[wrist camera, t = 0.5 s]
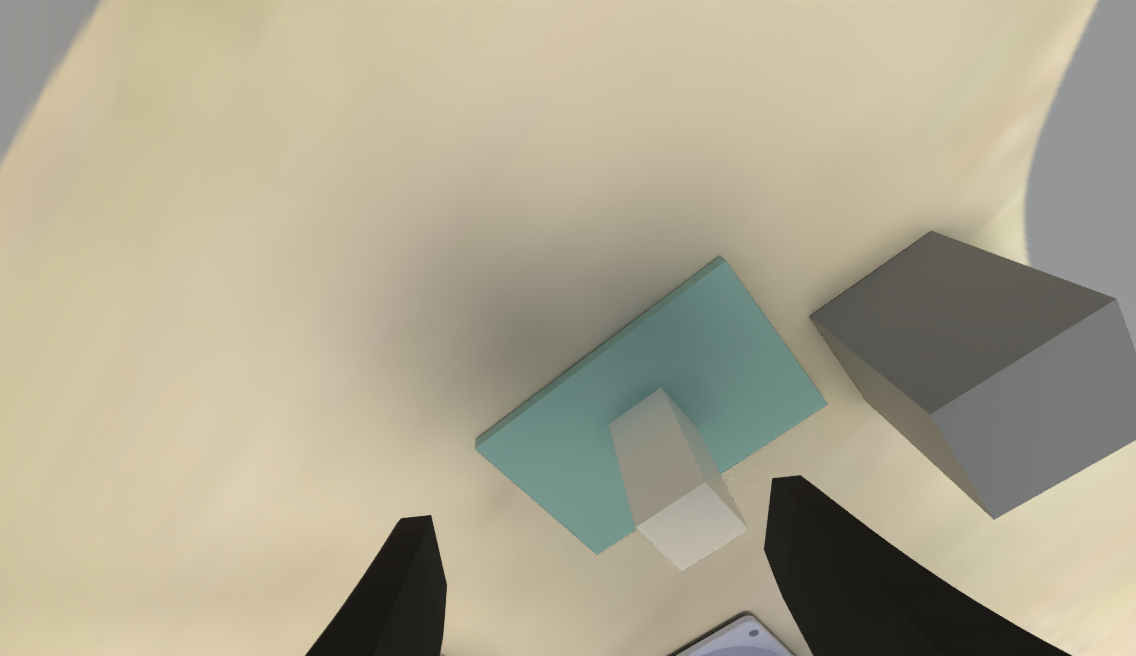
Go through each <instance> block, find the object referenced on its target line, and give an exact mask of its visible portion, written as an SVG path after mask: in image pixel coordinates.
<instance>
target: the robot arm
mask: <svg viewBox="0 0 1136 656" xmlns="http://www.w3.org/2000/svg"><path fill="white" fill-rule="evenodd" d="M764 551H765V554H766V556H767V559H768V561H769V564H770V567H771V569H772V572H773V575H774V577H775V580H776V582H777V585H778V587H779V589H780V592H781V594H782V597H783V599H784V601H785V603H786V605H787V607H788V609H789V610H790V612H791V614H792V616H793V618H794V620H795V622H796V624H797V626H798V628H799V629H800V631H801V633H802V635H803V637H804V639H805V641H806V643H807V644H808V646H809V648H810V650H811V652H812V654H813V656H1072V655H1070V654H1068V653H1066V652H1064V651H1062V650H1060V649H1058V648H1057V647H1055V646H1053V645H1051V644H1049V643H1047V642H1045V641H1043V640H1042V639H1040V638H1038V637H1036V636H1034V635H1033V634H1031V633H1029V632H1027V631H1025V630H1024V629H1022V628H1020V627H1018V626H1017V625H1015V624H1013V623H1012V622H1010V621H1008V620H1007V619H1005V618H1003V617H1002V616H1000V615H998V614H997V613H995V612H993V611H991V610H990V609H988V608H986V607H985V606H983V605H981V604H980V603H978V602H976V601H975V600H973V599H972V598H970V597H968V596H967V595H965V594H964V593H962V592H960V591H959V590H957V589H956V588H954V587H953V586H951V585H950V584H948V583H947V582H945V581H944V580H942V579H941V578H939V577H938V576H936V575H935V574H933V573H932V572H930V571H929V570H927V569H926V568H924V567H923V566H921V565H920V564H918V563H917V562H916V561H914V560H913V559H911V558H910V557H908V556H907V555H906V554H904V553H903V552H901V551H900V550H899V549H897V548H896V547H894V546H893V545H892V544H890V543H889V542H887V541H886V540H885V539H883V538H882V537H881V536H879V535H878V534H877V533H875V532H874V531H873V530H871V529H870V528H869V527H867V526H866V525H865V524H863V523H862V522H861V521H859V520H858V519H857V518H855V517H854V516H853V515H852V514H850V513H849V512H848V511H846V510H845V509H844V508H842V507H841V506H840V505H839V504H837V503H836V502H835V501H833V500H832V499H831V498H830V497H828V496H827V495H826V494H824V493H823V492H822V491H820V490H819V489H818V488H817V487H815V486H814V485H813V484H811V483H810V482H809V481H807V480H806V479H805V478H803V477H802V476H801V475H799V476H790V477H781V478H772V485H771V494H770V503H769V511H768V520H767V528H766V537H765V546H764ZM446 593H447V583H446V579H445V574H444V570H443V566H442V561H441V557H440V552H439V548H438V543H437V539H436V535H435V530H434V526H433V521H432V517H431V515H427V516H418V517H408V518H401V519H400V520H399V522H398V523H397V524H396V526H395V527H394V529H393V530H392V532H391V534H390V535H389V537H388V538H387V540H386V542H385V543H384V545H383V546H382V548H381V549H380V551H379V553H378V554H377V556H376V557H375V559H374V560H373V562H372V563H371V565H370V566H369V568H368V569H367V571H366V572H365V574H364V575H363V577H362V578H361V580H360V581H359V583H358V584H357V586H356V587H355V588H354V590H353V591H352V593H351V594H350V596H349V597H348V599H347V600H346V601H345V603H344V604H343V606H342V607H341V609H340V610H339V611H338V613H337V614H336V616H335V617H334V618H333V620H332V621H331V622H330V624H329V625H328V626H327V627H326V629H325V630H324V631H323V633H322V634H321V635H320V637H319V638H318V639H317V641H316V642H315V643H314V645H313V646H312V647H311V648H310V650H309V651H308V652H307V654H306V655H305V656H440V651H441V645H442V640H443V631H444V619H445V607H446ZM676 656H794V655H793V654H792V653H791V652H790V651H789V650H787V649H786V648H785V647H784V646H783V645H782V644H781V643H780V642H779V641H778V640H777V639H776V638H775V637H774V636H773V635H772V634H771V633H770V632H769V631H768V630H767V629H766V628H765V627H764V626H763V625H762V624H761V623H760V622H759V621H758V620H757V619H756V618H755V617H753V616H749V615H747V616H743V617H741V618H739V619H738V620H736V621H734V622H733V623H731V624H729V625H727V626H726V627H724V628H722V629H720V630H719V631H717V632H715V633H714V634H712V635H710V636H708V637H707V638H705V639H703V640H702V641H700V642H698V643H696V644H695V645H693V646H691V647H690V648H688V649H686V650H684V651H683V652H681V653H679V654H678V655H676Z"/></svg>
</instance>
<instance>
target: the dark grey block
mask: <svg viewBox="0 0 1136 656" xmlns="http://www.w3.org/2000/svg"><path fill="white" fill-rule="evenodd" d="M810 318H811V319H812V321H813V322H814V324H815V325H816V327H817V328H818V330H819V331H820V333H821V334H822V336H823V337H824V339H825V340H826V342H827V343H828V345H829V346H830V348H831V349H832V351H833V352H834V354H835V355H836V357H837V358H838V360H839V361H840V363H841V364H842V366H843V367H844V369H845V370H846V372H847V373H848V375H849V376H850V378H851V379H852V381H853V382H854V384H855V385H856V387H857V388H858V390H859V391H860V393H861V394H862V396H863V397H864V399H865V400H866V402H868V403H869V404H870V405H871V406H872V407H873V408H874V409H875V410H876V411H877V412H878V413H879V414H880V415H882V416H883V417H884V418H885V419H886V420H887V421H888V422H889V423H890V424H891V425H892V426H893V427H894V428H896V429H897V430H898V431H899V432H900V433H901V434H902V435H903V436H904V437H905V438H906V439H907V440H909V441H910V442H911V443H912V444H913V445H914V446H915V447H916V448H917V449H918V450H919V451H920V452H921V453H923V454H924V455H925V456H926V457H927V458H928V459H929V460H930V461H931V462H932V463H933V464H934V465H935V466H937V467H938V468H939V469H940V470H941V471H942V472H943V473H944V474H945V475H946V476H947V477H948V478H949V479H951V480H952V481H953V482H954V483H955V484H956V485H957V486H958V487H959V488H960V489H961V490H962V491H964V492H965V493H966V494H967V495H968V496H969V497H970V498H971V499H972V500H973V501H974V502H975V503H976V504H978V505H979V506H980V507H981V508H982V509H983V510H984V511H985V512H986V513H987V514H988V515H989V516H990V517H992V518H993V519H996V518H998V517H1000V516H1001V515H1003V514H1005V513H1007V512H1009V511H1010V510H1012V509H1014V508H1016V507H1017V506H1019V505H1021V504H1023V503H1025V502H1026V501H1028V500H1030V499H1032V498H1033V497H1035V496H1037V495H1039V494H1041V493H1042V492H1044V491H1046V490H1048V489H1049V488H1051V487H1053V486H1055V485H1057V484H1058V483H1060V482H1062V481H1064V480H1066V479H1067V478H1069V477H1071V476H1073V475H1074V474H1076V473H1078V472H1080V471H1082V470H1083V469H1085V468H1087V467H1089V466H1090V465H1092V464H1094V463H1096V462H1098V461H1099V460H1101V459H1103V458H1105V457H1106V456H1108V455H1110V454H1112V453H1114V452H1115V451H1117V450H1119V449H1121V448H1122V447H1124V446H1126V445H1128V444H1130V443H1131V442H1133V441H1135V440H1136V352H1135V349H1134V346H1133V343H1132V340H1131V338H1130V335H1129V332H1128V329H1127V327H1126V324H1125V321H1124V318H1123V315H1122V313H1121V310H1120V307H1119V305H1118V302H1117V299H1116V298H1113V297H1110V296H1107V295H1105V294H1102V293H1099V292H1097V291H1094V290H1091V289H1088V288H1086V287H1083V286H1080V285H1077V284H1075V283H1072V282H1069V281H1067V280H1064V279H1061V278H1058V277H1056V276H1053V275H1050V274H1047V273H1045V272H1042V271H1039V270H1036V269H1034V268H1031V267H1028V266H1026V265H1023V264H1020V263H1017V262H1015V261H1012V260H1009V259H1006V258H1004V257H1001V256H998V255H995V254H993V253H990V252H987V251H985V250H982V249H979V248H976V247H974V246H971V245H968V244H965V243H963V242H960V241H957V240H954V239H952V238H949V237H946V236H944V235H941V234H938V233H935V232H933V231H931V232H930V233H928V234H927V235H926V236H924V237H923V238H921V239H920V240H918V241H917V242H916V243H914V244H913V245H911V246H910V247H908V248H907V249H905V250H904V251H903V252H901V253H900V254H898V255H897V256H895V257H894V258H893V259H891V260H890V261H888V262H887V263H885V264H884V265H883V266H881V267H880V268H878V269H877V270H875V271H874V272H872V273H871V274H870V275H868V276H867V277H865V278H864V279H862V280H861V281H860V282H858V283H857V284H855V285H854V286H852V287H851V288H850V289H848V290H847V291H845V292H844V293H842V294H841V295H839V296H838V297H837V298H835V299H834V300H832V301H831V302H829V303H828V304H827V305H825V306H824V307H822V308H821V309H819V310H818V311H817V312H815V313H814V314H812V315H811V316H810Z"/></svg>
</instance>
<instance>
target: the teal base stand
mask: <svg viewBox="0 0 1136 656" xmlns="http://www.w3.org/2000/svg"><path fill="white" fill-rule="evenodd" d="M826 405H827V402H826V401H825V399H824V398H823V397H822V395H821V394H820V392H819V391H818V390H817V388H816V387H815V385H814V384H813V383H812V381H811V380H810V378H809V377H808V376H807V374H806V373H805V371H804V370H803V369H802V367H801V366H800V364H799V363H798V362H797V360H796V359H795V357H794V356H793V354H792V353H791V352H790V350H789V349H788V347H787V346H786V345H785V343H784V342H783V340H782V339H781V338H780V336H779V335H778V333H777V332H776V331H775V329H774V328H773V326H772V325H771V324H770V322H769V321H768V319H767V318H766V317H765V315H764V314H763V312H762V311H761V310H760V308H759V307H758V305H757V304H756V303H755V301H754V300H753V298H752V297H751V296H750V294H749V293H748V291H747V290H746V289H745V287H744V286H743V284H742V283H741V281H740V280H739V279H738V277H737V276H736V274H735V273H734V272H733V270H732V269H731V267H730V266H729V265H728V263H727V262H726V261H725V260H724V259H723V258H722V257H721V256H719V257H718V258H717V259H715V260H714V261H713V262H711V263H710V264H709V265H707V266H706V267H705V268H703V269H702V270H701V271H699V272H698V273H697V274H695V275H694V276H693V277H691V278H690V279H689V280H687V281H686V282H685V283H683V284H682V285H681V286H679V287H678V288H677V289H675V290H674V291H673V292H671V293H670V294H669V295H667V296H666V297H665V298H663V299H662V300H661V301H659V302H658V303H657V304H655V305H654V306H653V307H651V308H650V309H649V310H647V311H646V312H645V313H643V314H642V315H641V316H640V317H638V318H637V319H636V320H634V321H633V322H632V323H630V324H629V325H628V326H626V327H625V328H624V329H622V330H621V331H620V332H618V333H617V334H616V335H614V336H613V337H612V338H610V339H609V340H608V341H606V342H605V343H604V344H602V345H601V346H600V347H598V348H597V349H596V350H594V351H593V352H592V353H590V354H589V355H588V356H586V357H585V358H584V359H582V360H581V361H580V362H578V363H577V364H576V365H574V366H573V367H572V368H570V369H569V370H568V371H567V372H565V373H564V374H563V375H561V376H560V377H559V378H557V379H556V380H555V381H553V382H552V383H551V384H549V385H548V386H547V387H545V388H544V389H543V390H541V391H540V392H539V393H537V394H536V395H535V396H533V397H532V398H531V399H529V400H528V401H527V402H525V403H524V404H523V405H521V406H520V407H519V408H517V409H516V410H515V411H513V412H512V413H511V414H509V415H508V416H507V417H505V418H504V419H503V420H501V421H500V422H499V423H497V424H496V425H495V426H493V427H492V428H491V429H490V430H488V431H487V432H486V433H484V434H483V435H482V436H480V437H479V438H478V439H476V444H475V449H476V450H477V451H478V452H479V453H480V454H482V455H483V456H484V457H485V458H486V459H487V460H488V461H490V462H491V463H492V464H493V465H494V466H495V467H496V468H498V469H499V470H500V471H501V472H502V473H503V474H504V475H506V476H507V477H508V478H509V479H510V480H511V481H513V482H514V483H515V484H516V485H517V486H518V487H519V488H521V489H522V490H523V491H524V492H525V493H526V494H527V495H529V496H530V497H531V498H532V499H533V500H534V501H536V502H537V503H538V504H539V505H540V506H541V507H542V508H544V509H545V510H546V511H547V512H548V513H549V514H550V515H552V516H553V517H554V518H555V519H556V520H557V521H559V522H560V523H561V524H562V525H563V526H564V527H565V528H567V529H568V530H569V531H570V532H571V533H572V534H573V535H575V536H576V537H577V538H578V539H579V540H580V541H581V542H583V543H584V544H585V545H586V546H587V547H588V548H590V549H591V550H592V551H593V552H594V553H595V554H596V555H598V554H599V553H601V552H602V551H604V550H605V549H607V548H608V547H610V546H611V545H613V544H614V543H616V542H617V541H619V540H621V539H622V538H624V537H625V536H627V535H628V534H630V533H631V532H633V531H634V530H636V529H637V530H638V531H639V532H640V533H641V534H642V535H643V536H644V537H646V538H647V539H648V540H649V541H650V542H651V543H652V544H653V545H654V546H655V547H656V548H657V549H658V550H659V551H660V552H661V553H663V554H664V555H665V556H666V557H667V558H668V559H669V560H670V561H671V562H672V563H673V564H674V565H675V566H676V567H677V568H678V569H680V570H681V571H683V570H685V569H687V568H688V567H690V566H691V565H693V564H695V563H696V562H698V561H699V560H701V559H703V558H704V557H706V556H708V555H709V554H711V553H712V552H714V551H716V550H717V549H719V548H720V547H722V546H724V545H725V544H727V543H729V542H730V541H732V540H733V539H735V538H737V537H738V536H740V535H741V534H743V533H745V532H746V531H748V530H749V528H748V527H747V525H746V523H745V521H744V519H743V517H742V515H741V513H740V511H739V509H738V507H737V505H736V503H735V501H734V499H733V497H732V495H731V493H730V491H729V489H728V487H727V485H726V483H725V481H724V479H723V477H722V476H721V474H722V473H723V472H725V471H726V470H728V469H729V468H731V467H732V466H734V465H735V464H737V463H738V462H740V461H742V460H743V459H745V458H746V457H748V456H749V455H751V454H752V453H754V452H755V451H757V450H758V449H760V448H761V447H763V446H765V445H766V444H768V443H769V442H771V441H772V440H774V439H775V438H777V437H778V436H780V435H781V434H783V433H784V432H786V431H787V430H789V429H791V428H792V427H794V426H795V425H797V424H798V423H800V422H801V421H803V420H804V419H806V418H807V417H809V416H810V415H812V414H814V413H815V412H817V411H818V410H820V409H821V408H823V407H824V406H826Z"/></svg>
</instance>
